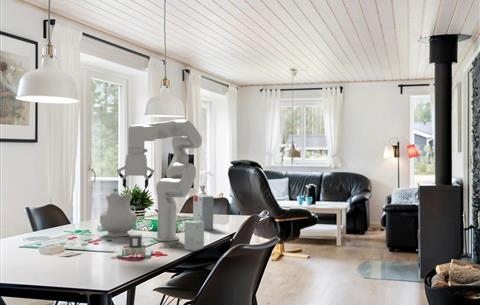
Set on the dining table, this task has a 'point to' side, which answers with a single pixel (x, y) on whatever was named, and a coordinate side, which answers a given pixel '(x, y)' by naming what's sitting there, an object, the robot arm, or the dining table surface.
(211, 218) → the hard drive box
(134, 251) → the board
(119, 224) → the ceramic pitcher
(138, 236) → the plug
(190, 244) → the small box
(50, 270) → the dining table surface
